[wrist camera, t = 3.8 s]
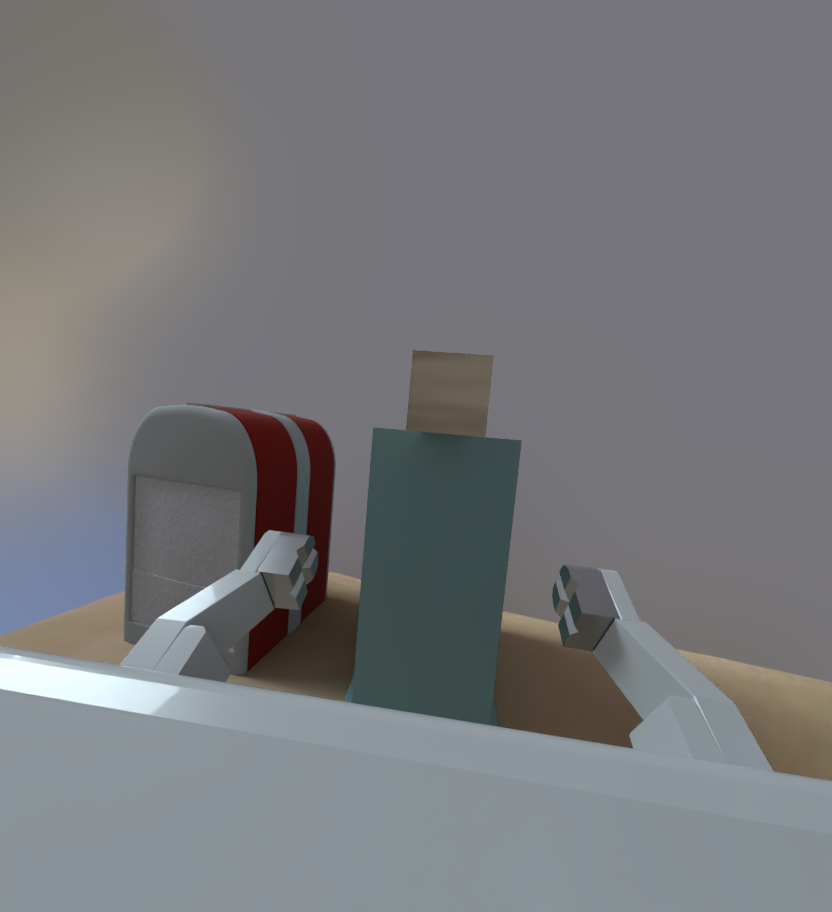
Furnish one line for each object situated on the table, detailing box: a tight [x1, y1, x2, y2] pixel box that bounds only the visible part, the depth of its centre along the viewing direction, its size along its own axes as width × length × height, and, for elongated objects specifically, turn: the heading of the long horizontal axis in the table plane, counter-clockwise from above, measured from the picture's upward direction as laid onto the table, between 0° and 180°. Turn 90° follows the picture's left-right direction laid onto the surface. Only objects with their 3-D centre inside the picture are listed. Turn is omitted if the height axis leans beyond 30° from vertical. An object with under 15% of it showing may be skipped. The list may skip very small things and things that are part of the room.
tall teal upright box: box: [343, 428, 521, 727], centre depth 36 cm, size 20×14×26 cm
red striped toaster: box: [124, 402, 336, 676], centre depth 42 cm, size 16×18×27 cm
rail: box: [406, 350, 493, 437], centre depth 28 cm, size 24×4×4 cm, turn 175°
